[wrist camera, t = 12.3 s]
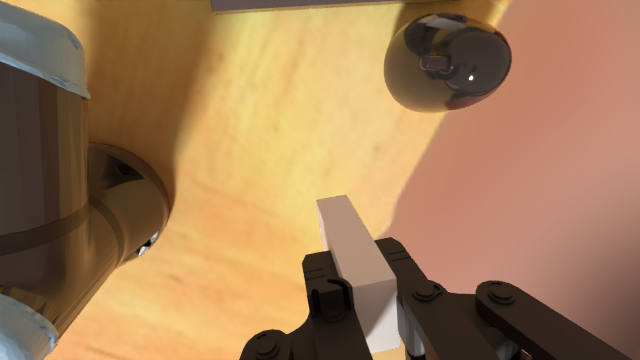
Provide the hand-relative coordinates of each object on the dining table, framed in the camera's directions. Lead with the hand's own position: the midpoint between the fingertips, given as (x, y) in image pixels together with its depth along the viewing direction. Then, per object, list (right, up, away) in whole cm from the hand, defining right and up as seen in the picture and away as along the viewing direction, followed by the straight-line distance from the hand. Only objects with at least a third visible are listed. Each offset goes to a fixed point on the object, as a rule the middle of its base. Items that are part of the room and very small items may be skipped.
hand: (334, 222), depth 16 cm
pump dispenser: (+11, +16, +23) cm, 30 cm away
